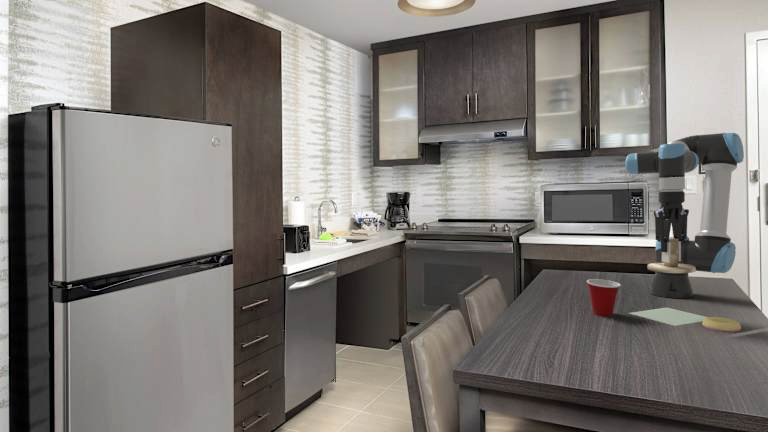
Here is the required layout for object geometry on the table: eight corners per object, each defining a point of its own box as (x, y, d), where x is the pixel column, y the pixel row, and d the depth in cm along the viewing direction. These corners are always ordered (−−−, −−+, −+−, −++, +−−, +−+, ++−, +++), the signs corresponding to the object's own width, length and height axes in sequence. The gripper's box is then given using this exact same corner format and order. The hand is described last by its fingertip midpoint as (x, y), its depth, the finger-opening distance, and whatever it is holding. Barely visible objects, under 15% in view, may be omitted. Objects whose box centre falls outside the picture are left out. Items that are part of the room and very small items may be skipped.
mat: (666, 309, 185) (666, 307, 185) (715, 321, 168) (715, 319, 168) (628, 315, 179) (628, 313, 178) (674, 328, 162) (674, 325, 162)
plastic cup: (616, 321, 171) (616, 285, 170) (582, 317, 177) (582, 282, 177) (624, 314, 179) (624, 280, 179) (592, 310, 186) (592, 277, 185)
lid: (668, 264, 182) (668, 235, 181) (705, 270, 169) (706, 239, 168) (638, 268, 177) (638, 238, 176) (674, 274, 164) (674, 242, 163)
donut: (730, 343, 153) (745, 333, 158) (732, 329, 152) (747, 319, 157) (695, 330, 162) (710, 321, 166) (697, 317, 160) (712, 308, 165)
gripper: (679, 189, 178) (679, 257, 179) (642, 191, 171) (642, 262, 173) (700, 189, 171) (699, 260, 172) (662, 191, 164) (662, 265, 166)
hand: (671, 261), depth 173 cm, fingers closed on lid, 4 cm apart
